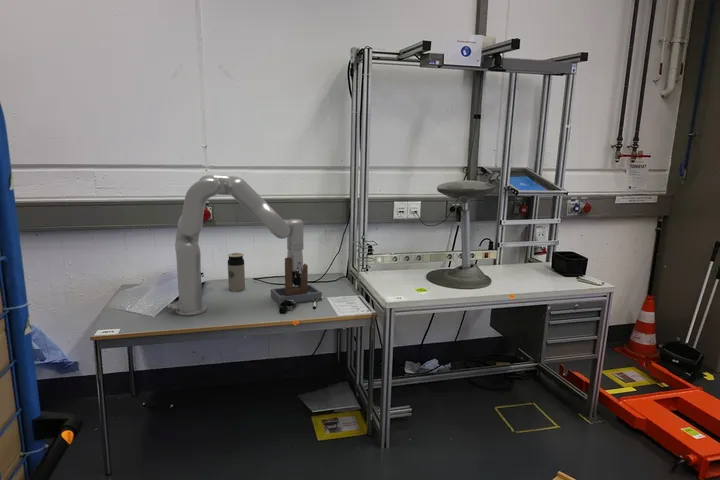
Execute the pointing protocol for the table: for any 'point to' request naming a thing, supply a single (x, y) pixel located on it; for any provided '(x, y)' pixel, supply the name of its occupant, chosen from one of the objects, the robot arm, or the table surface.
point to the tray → (301, 298)
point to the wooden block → (289, 279)
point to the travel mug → (236, 272)
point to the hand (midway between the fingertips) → (295, 283)
